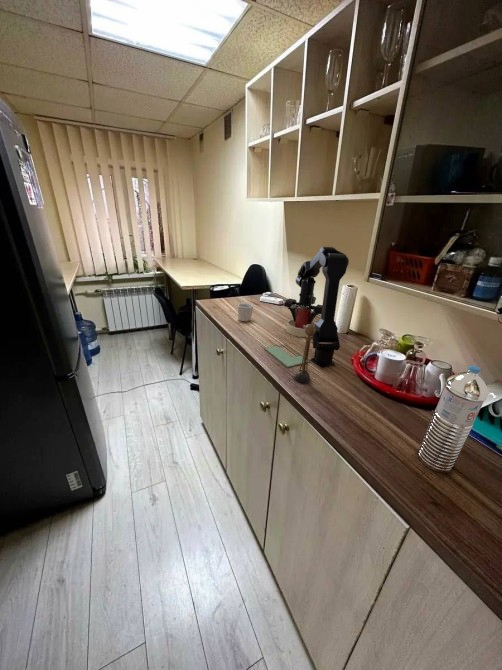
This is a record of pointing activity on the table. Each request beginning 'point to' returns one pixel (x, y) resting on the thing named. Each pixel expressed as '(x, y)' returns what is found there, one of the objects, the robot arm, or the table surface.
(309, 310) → the can
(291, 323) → the bowl
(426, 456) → the water bottle
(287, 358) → the mat
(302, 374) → the wooden tabletop sculpture
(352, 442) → the table surface
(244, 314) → the cup
